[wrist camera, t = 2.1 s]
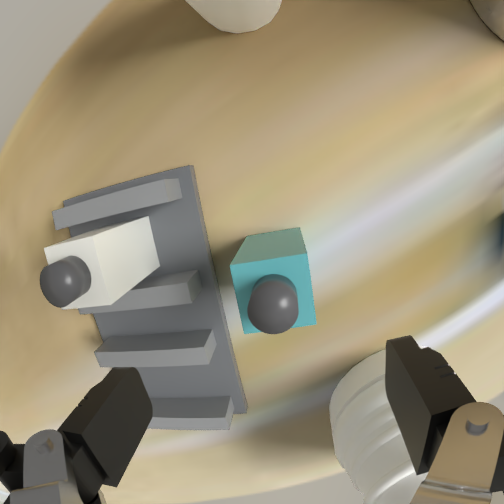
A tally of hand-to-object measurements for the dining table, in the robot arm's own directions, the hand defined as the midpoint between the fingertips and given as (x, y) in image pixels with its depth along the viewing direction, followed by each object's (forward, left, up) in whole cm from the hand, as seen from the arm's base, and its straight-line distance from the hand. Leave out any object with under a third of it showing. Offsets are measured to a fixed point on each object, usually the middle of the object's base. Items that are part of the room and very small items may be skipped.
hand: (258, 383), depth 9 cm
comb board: (+11, +3, -16) cm, 19 cm away
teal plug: (0, 0, -16) cm, 16 cm away
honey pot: (-9, +16, -16) cm, 25 cm away
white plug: (+11, -3, -15) cm, 18 cm away
